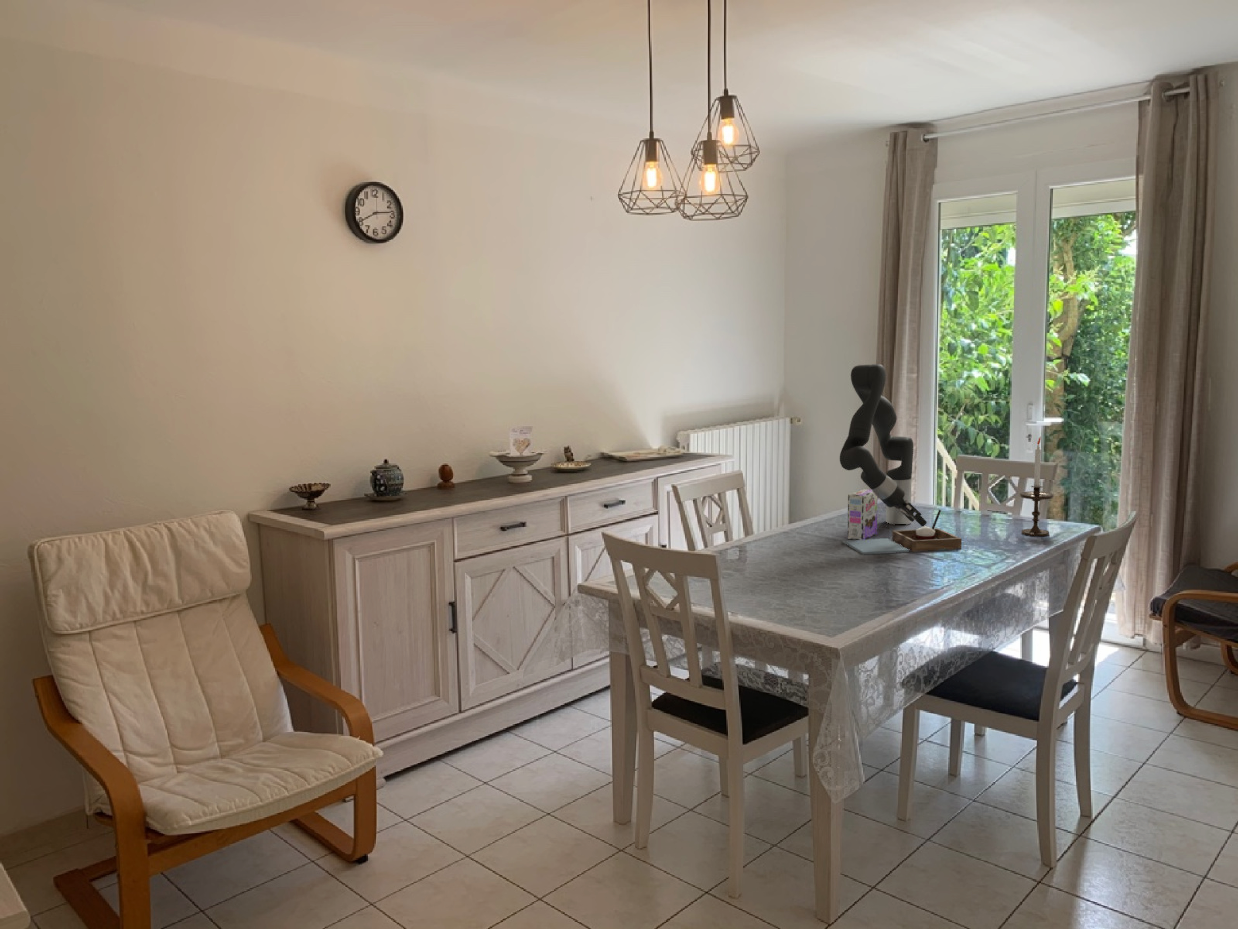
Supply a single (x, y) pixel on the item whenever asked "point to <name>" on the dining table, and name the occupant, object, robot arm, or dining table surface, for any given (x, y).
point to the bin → (942, 541)
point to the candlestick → (1036, 497)
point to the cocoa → (926, 531)
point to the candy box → (862, 514)
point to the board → (876, 546)
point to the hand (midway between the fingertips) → (919, 522)
